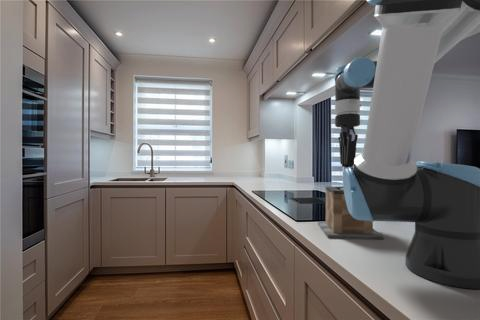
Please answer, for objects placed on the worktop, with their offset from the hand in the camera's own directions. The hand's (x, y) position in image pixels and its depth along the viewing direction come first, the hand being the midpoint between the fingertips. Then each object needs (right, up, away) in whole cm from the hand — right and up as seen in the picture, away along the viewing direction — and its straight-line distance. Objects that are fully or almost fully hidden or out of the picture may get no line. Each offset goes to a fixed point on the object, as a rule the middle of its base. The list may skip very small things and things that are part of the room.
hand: (347, 186), depth 88 cm
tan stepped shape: (0, -15, 0) cm, 15 cm away
